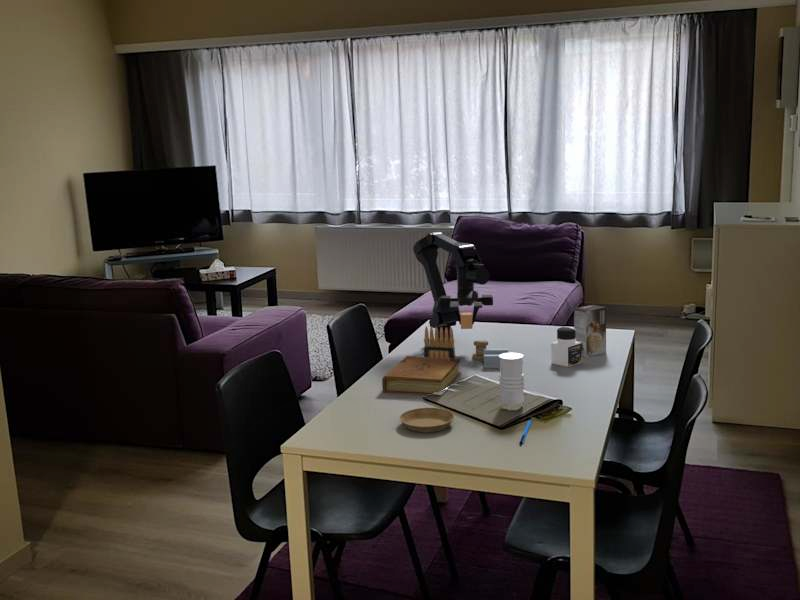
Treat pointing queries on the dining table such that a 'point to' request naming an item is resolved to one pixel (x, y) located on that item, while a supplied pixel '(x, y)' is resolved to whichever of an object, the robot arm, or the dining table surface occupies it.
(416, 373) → the diary
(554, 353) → the medicine bottle
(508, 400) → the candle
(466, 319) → the block
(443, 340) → the ammunition clip
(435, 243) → the robot arm
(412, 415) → the plant saucer
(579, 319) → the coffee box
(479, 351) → the wooden knob
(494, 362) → the notched board
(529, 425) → the pen
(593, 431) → the dining table surface
